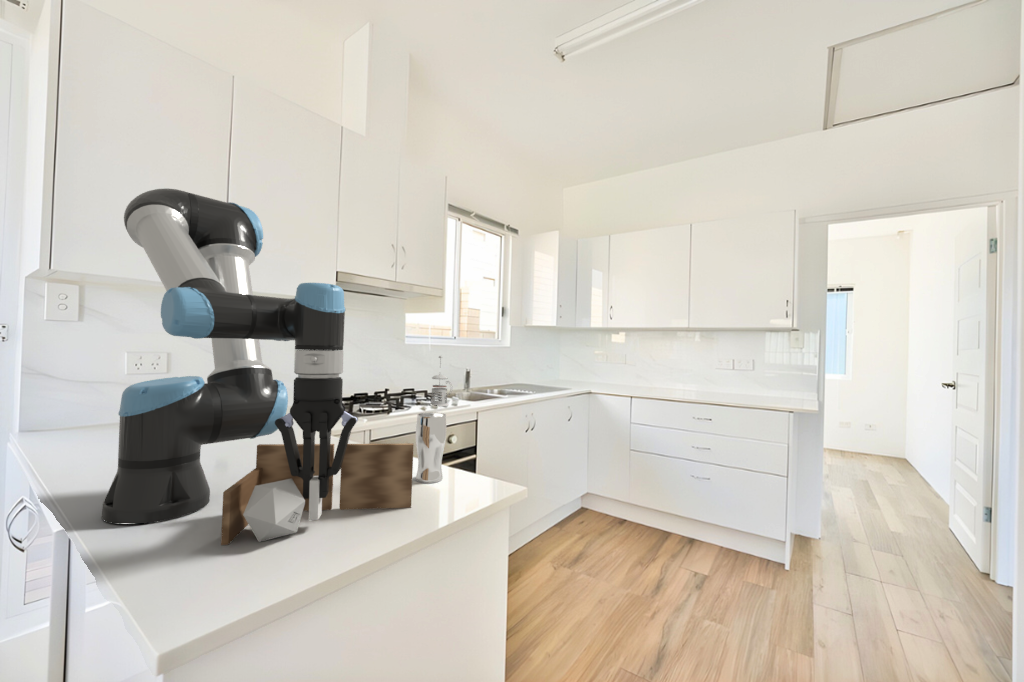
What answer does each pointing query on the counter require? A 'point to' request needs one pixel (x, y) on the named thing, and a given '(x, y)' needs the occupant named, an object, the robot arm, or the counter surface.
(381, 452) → the panel
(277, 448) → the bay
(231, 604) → the counter surface
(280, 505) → the die
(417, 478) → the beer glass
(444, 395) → the french press
